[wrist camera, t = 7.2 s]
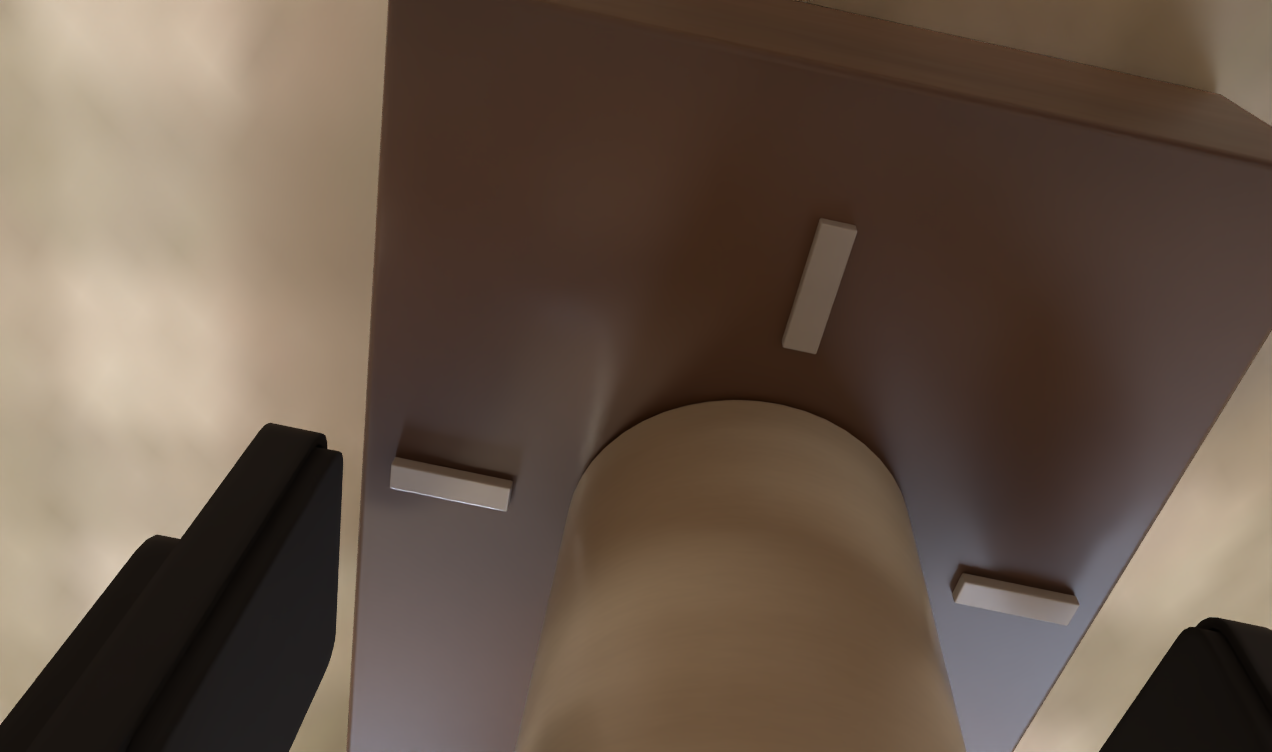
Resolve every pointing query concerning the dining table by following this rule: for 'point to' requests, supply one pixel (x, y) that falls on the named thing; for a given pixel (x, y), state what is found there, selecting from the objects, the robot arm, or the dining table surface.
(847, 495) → the dimmer knob
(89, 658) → the robot arm
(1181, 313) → the dimmer panel
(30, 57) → the dining table surface
